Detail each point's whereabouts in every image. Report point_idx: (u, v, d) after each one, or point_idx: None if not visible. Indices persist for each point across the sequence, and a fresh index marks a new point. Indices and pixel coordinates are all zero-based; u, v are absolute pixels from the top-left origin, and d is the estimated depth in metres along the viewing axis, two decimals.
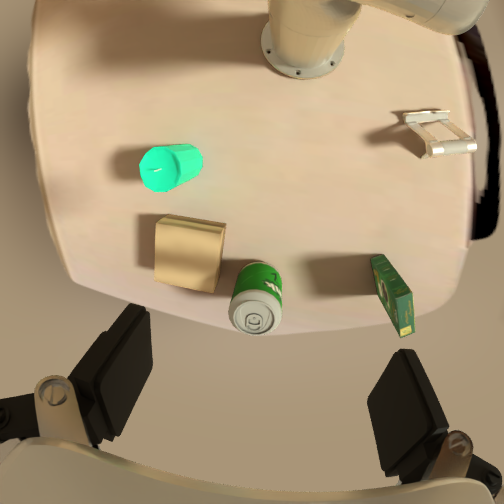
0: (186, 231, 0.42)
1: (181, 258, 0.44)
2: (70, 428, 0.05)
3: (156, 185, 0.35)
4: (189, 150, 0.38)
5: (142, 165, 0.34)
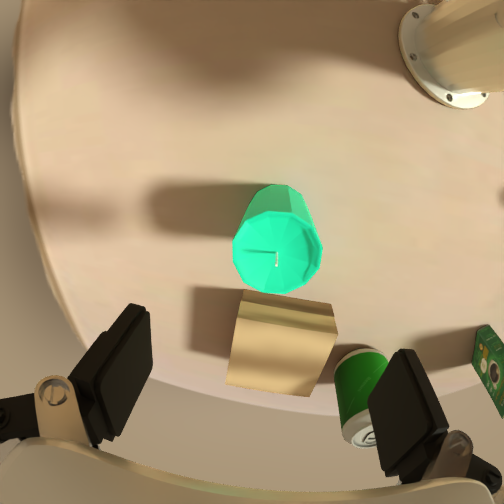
0: (287, 331, 0.27)
1: (272, 361, 0.29)
2: (70, 428, 0.05)
3: (264, 280, 0.20)
4: (305, 205, 0.23)
5: (238, 243, 0.19)
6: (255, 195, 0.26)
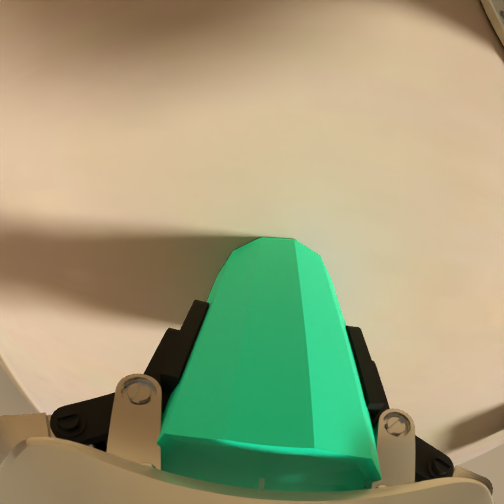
0: None
1: None
2: (145, 430, 0.05)
3: None
4: (336, 308, 0.10)
5: None
6: (226, 265, 0.13)
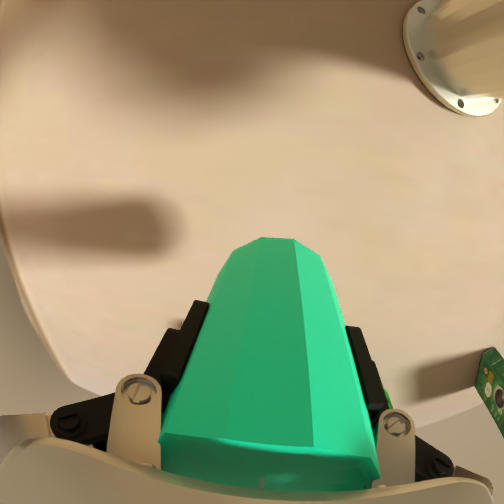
0: None
1: None
2: (145, 430, 0.05)
3: None
4: (335, 308, 0.10)
5: None
6: (226, 265, 0.13)
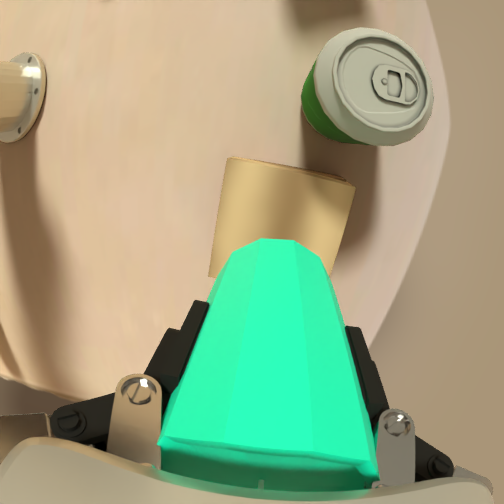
0: (223, 222, 0.23)
1: None
2: (145, 430, 0.05)
3: None
4: (335, 309, 0.10)
5: None
6: (226, 267, 0.13)
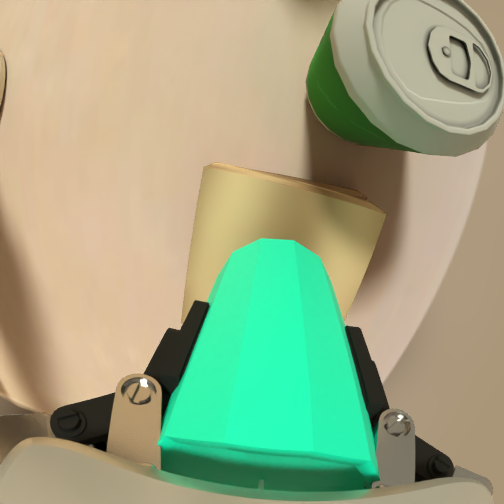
0: (198, 256, 0.16)
1: None
2: (145, 430, 0.05)
3: None
4: (335, 309, 0.10)
5: None
6: (226, 267, 0.13)
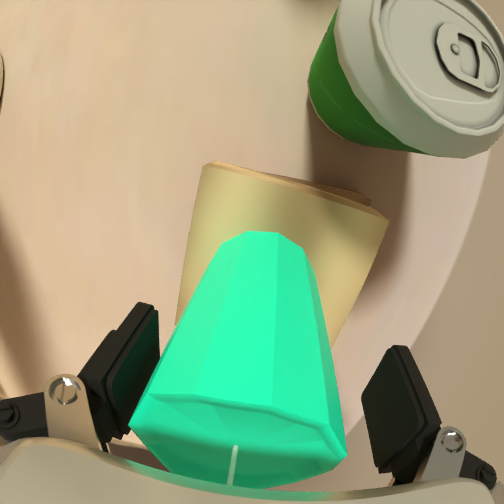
0: (194, 257, 0.16)
1: None
2: (80, 427, 0.05)
3: (214, 469, 0.08)
4: (311, 294, 0.11)
5: (144, 426, 0.06)
6: (214, 256, 0.14)
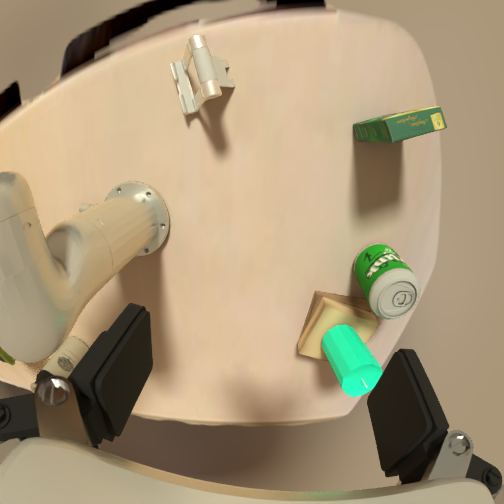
0: (314, 332, 0.44)
1: None
2: (70, 428, 0.05)
3: (361, 389, 0.34)
4: (356, 339, 0.38)
5: (344, 386, 0.34)
6: (325, 344, 0.42)
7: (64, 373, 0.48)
